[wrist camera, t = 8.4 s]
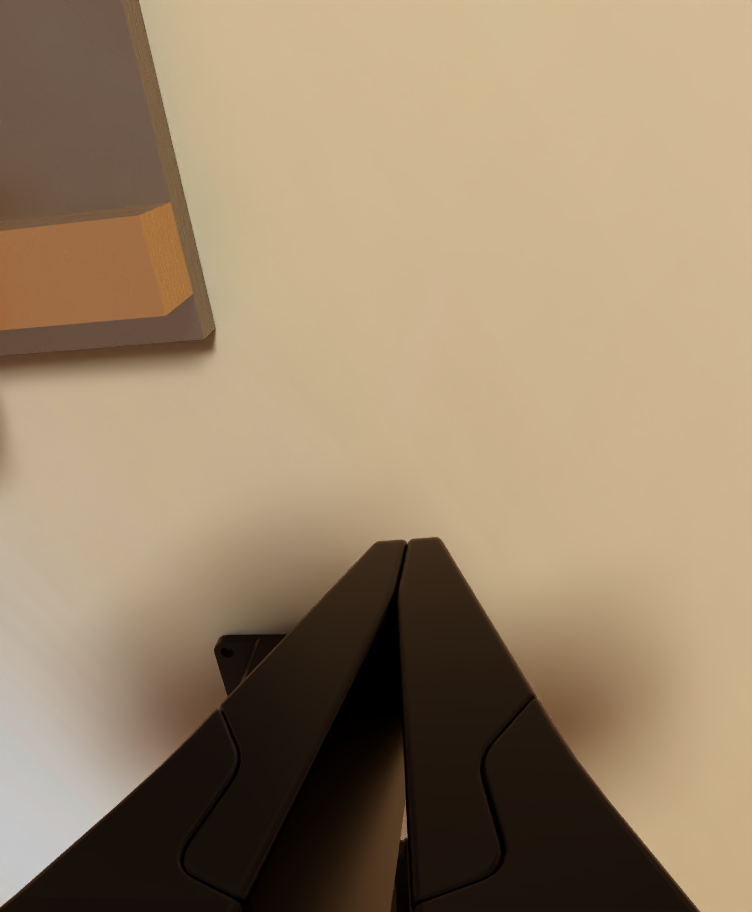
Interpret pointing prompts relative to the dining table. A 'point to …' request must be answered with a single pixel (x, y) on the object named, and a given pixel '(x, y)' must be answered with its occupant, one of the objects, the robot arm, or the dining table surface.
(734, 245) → the dining table surface
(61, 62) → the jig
